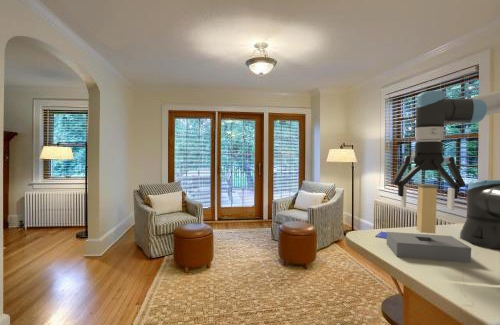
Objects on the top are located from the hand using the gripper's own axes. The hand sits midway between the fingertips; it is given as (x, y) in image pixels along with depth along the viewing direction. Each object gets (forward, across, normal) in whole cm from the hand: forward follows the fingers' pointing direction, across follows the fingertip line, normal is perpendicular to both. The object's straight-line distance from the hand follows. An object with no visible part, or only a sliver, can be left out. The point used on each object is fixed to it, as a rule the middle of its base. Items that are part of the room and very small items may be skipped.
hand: (426, 207), depth 90 cm
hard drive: (+16, -4, +15) cm, 22 cm away
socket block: (+15, 0, 0) cm, 15 cm away
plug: (+8, 0, 0) cm, 8 cm away
